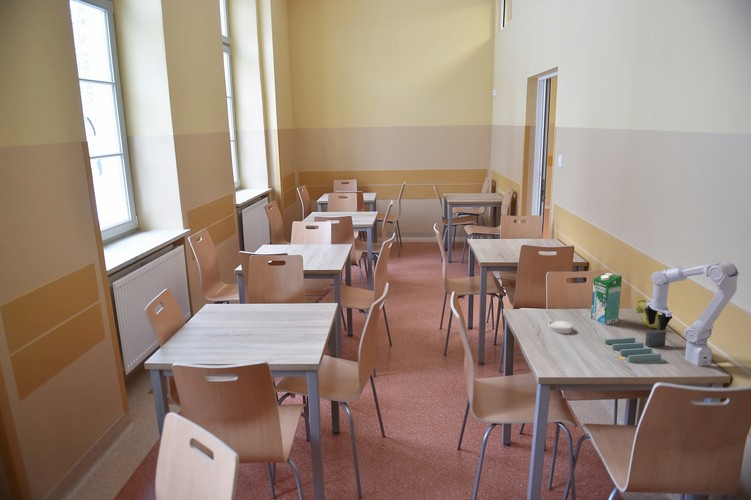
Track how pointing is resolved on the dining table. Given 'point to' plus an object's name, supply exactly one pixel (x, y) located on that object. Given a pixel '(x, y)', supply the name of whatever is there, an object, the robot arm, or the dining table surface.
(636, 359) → the slot rack
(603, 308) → the milk carton
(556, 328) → the ramekin
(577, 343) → the dining table surface
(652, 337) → the panel
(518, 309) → the dining table surface
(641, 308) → the plastic component
